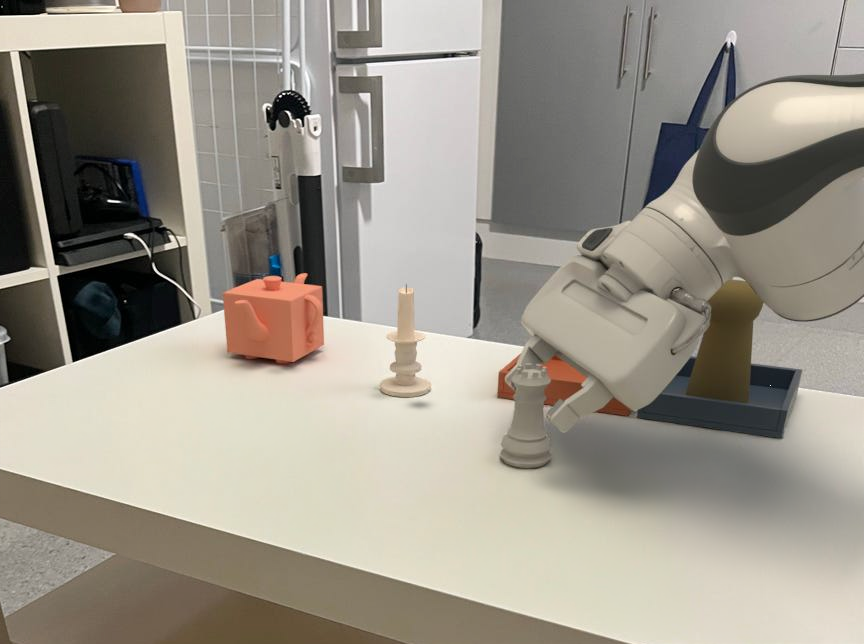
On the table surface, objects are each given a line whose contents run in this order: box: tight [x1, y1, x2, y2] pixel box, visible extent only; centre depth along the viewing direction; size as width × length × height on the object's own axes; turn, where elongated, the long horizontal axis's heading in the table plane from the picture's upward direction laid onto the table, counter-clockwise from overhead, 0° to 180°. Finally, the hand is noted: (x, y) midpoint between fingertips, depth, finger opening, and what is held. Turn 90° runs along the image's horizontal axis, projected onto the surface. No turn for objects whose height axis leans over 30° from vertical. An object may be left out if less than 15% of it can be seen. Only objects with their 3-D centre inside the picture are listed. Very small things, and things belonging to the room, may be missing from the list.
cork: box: [685, 279, 764, 404], centre depth 96 cm, size 6×6×11 cm
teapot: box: [222, 272, 325, 364], centre depth 112 cm, size 12×15×8 cm
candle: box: [379, 283, 432, 398], centre depth 101 cm, size 5×5×10 cm
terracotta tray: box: [497, 352, 633, 417], centre depth 103 cm, size 13×13×3 cm
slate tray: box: [636, 355, 803, 439], centre depth 98 cm, size 13×13×3 cm
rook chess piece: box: [499, 364, 552, 469], centre depth 85 cm, size 4×4×8 cm
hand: (531, 405), depth 85 cm, fingers open, 8 cm apart
